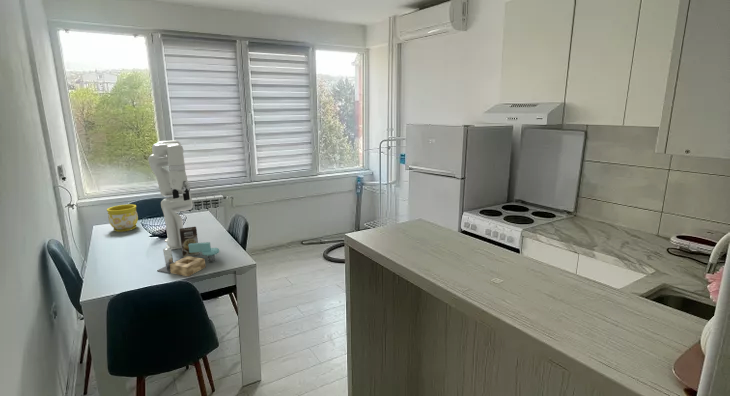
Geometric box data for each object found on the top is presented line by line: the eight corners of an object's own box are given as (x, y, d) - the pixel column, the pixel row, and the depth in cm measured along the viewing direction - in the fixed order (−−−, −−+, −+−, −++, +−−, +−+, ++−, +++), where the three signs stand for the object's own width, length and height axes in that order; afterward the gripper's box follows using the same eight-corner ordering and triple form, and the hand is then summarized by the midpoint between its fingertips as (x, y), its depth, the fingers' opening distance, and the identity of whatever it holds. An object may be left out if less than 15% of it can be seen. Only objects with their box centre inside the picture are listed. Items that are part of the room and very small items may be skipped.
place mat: (157, 271, 198) (157, 270, 198) (171, 264, 207) (170, 263, 206) (170, 273, 195) (169, 272, 195) (183, 266, 204) (183, 265, 203)
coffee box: (182, 257, 216) (179, 231, 212) (182, 254, 222) (178, 228, 218) (199, 254, 220) (196, 228, 216) (199, 251, 226) (195, 225, 222)
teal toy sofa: (221, 257, 216) (219, 239, 213) (218, 263, 207) (216, 244, 205) (193, 259, 214) (191, 241, 211) (189, 265, 205) (186, 247, 202)
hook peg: (164, 269, 200) (161, 249, 197) (170, 266, 203) (167, 247, 200) (170, 269, 198) (167, 250, 196) (175, 266, 202) (172, 248, 199)
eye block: (170, 273, 196) (169, 264, 195) (188, 264, 207) (187, 256, 206) (188, 276, 192) (187, 267, 191) (205, 267, 203) (204, 258, 201)
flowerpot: (136, 223, 283) (133, 203, 279) (142, 229, 270) (138, 207, 266) (108, 229, 271) (104, 207, 267) (113, 235, 258) (109, 212, 254)
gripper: (161, 167, 200) (165, 198, 204) (180, 170, 191) (184, 202, 195) (174, 166, 206) (178, 195, 210) (193, 168, 197) (197, 199, 201)
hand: (181, 199), depth 203 cm, fingers open, 9 cm apart
